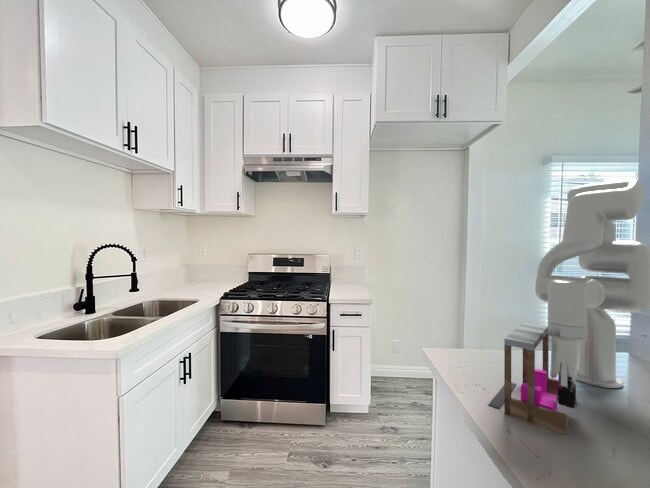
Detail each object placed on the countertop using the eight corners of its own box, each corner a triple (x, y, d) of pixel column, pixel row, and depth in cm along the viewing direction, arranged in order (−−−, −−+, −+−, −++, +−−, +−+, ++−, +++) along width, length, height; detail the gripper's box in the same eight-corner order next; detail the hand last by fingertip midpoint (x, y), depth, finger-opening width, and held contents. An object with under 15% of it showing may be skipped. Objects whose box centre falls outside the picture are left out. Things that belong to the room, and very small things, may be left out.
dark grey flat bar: (506, 382, 92) (506, 381, 92) (516, 385, 90) (516, 384, 90) (488, 405, 79) (488, 404, 79) (499, 409, 77) (499, 407, 77)
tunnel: (523, 384, 90) (523, 322, 90) (575, 398, 82) (575, 330, 82) (504, 414, 75) (504, 338, 75) (566, 435, 67) (566, 350, 67)
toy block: (552, 427, 70) (553, 394, 70) (520, 417, 74) (520, 386, 74) (558, 401, 81) (558, 373, 81) (530, 394, 85) (530, 367, 85)
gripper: (552, 322, 83) (552, 389, 83) (542, 333, 72) (542, 411, 72) (588, 327, 78) (588, 399, 78) (584, 340, 67) (584, 424, 67)
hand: (566, 405), depth 75 cm, fingers closed
